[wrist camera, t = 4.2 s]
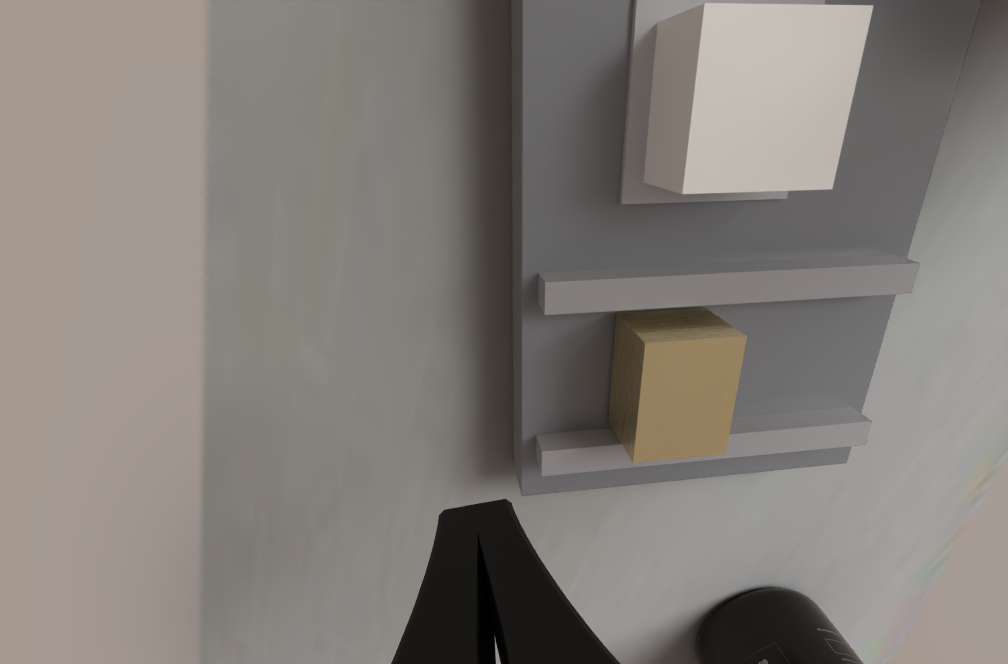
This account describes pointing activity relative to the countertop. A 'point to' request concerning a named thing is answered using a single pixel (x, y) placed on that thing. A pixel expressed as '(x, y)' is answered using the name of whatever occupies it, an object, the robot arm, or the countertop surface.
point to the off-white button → (752, 96)
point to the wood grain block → (674, 383)
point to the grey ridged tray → (707, 240)
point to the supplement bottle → (772, 632)
